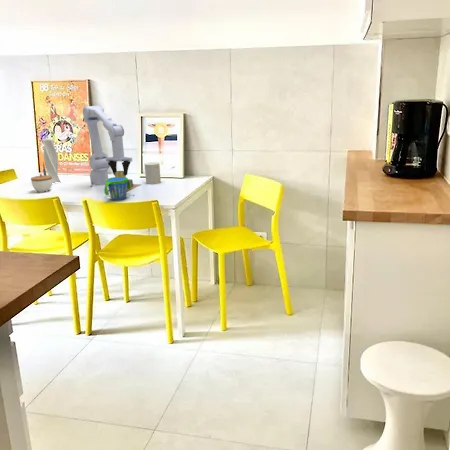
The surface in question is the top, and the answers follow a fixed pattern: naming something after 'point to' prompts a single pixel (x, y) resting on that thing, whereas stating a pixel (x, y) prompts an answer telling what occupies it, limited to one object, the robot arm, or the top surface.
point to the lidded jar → (42, 182)
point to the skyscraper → (50, 159)
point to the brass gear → (119, 174)
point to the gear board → (133, 187)
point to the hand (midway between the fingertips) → (120, 175)
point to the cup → (152, 173)
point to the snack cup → (117, 187)
